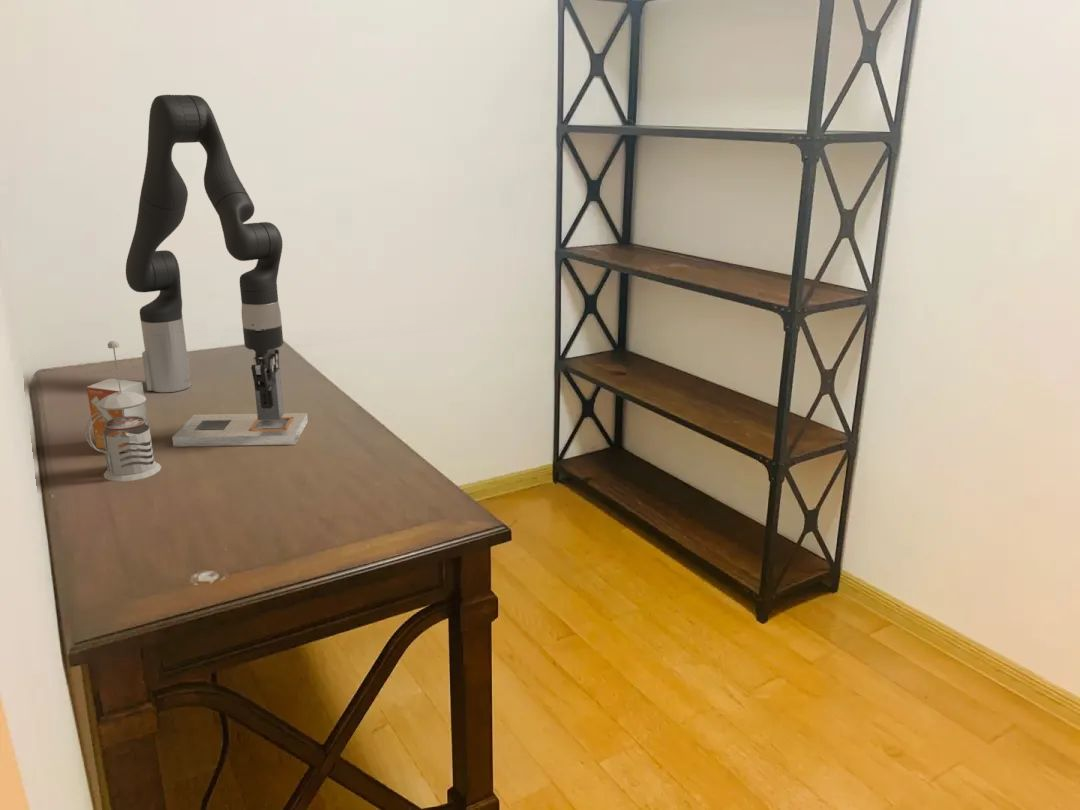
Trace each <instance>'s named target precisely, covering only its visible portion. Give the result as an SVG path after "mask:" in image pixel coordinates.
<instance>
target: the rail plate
mask: <svg viewBox="0 0 1080 810" xmlns="http://www.w3.org/2000/svg"><path fill="white" fill-rule="evenodd" d="M308 422H309V421H308V412H293V413H292V412H291V413H289V412H287V413H286V412H284V414H283V416H282V417H281V419H280V420H258V416H257V413H222V414H221V413H219V414H218V413H212V414H193V415H192V416H191V417H190V419H188V420H187V421H186V422H185V423H184V424H183V425H182V426H181V428H179V430H178V431H177V432H176V433H174V435H173V436H172V445H173V446H172V447H174V448H177V447H179V448H180V447H226V446H227V447H229V446H233V447H234V446H235V447H236V446H281V445H282V446H283V445H284V446H286V445H292V446H293V445H294V446H295V445H296V443H297V441H298V440H299V438H300V437H301V436H302V435H301V434H302V433H303V432H304V429H305V428H306V425H307V424H308Z"/></svg>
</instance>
